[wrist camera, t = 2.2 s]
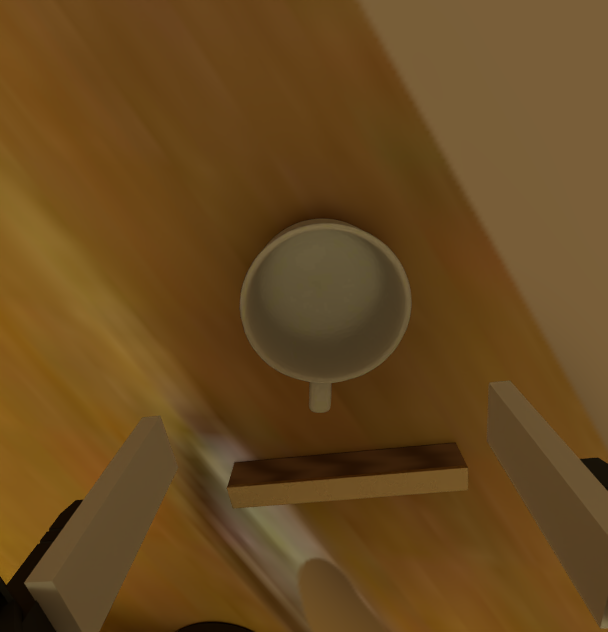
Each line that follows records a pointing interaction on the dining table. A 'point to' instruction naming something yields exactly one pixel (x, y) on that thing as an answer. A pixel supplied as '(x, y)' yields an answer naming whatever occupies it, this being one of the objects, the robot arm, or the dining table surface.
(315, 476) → the stop bar
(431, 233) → the dining table surface
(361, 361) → the teacup
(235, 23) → the dining table surface
